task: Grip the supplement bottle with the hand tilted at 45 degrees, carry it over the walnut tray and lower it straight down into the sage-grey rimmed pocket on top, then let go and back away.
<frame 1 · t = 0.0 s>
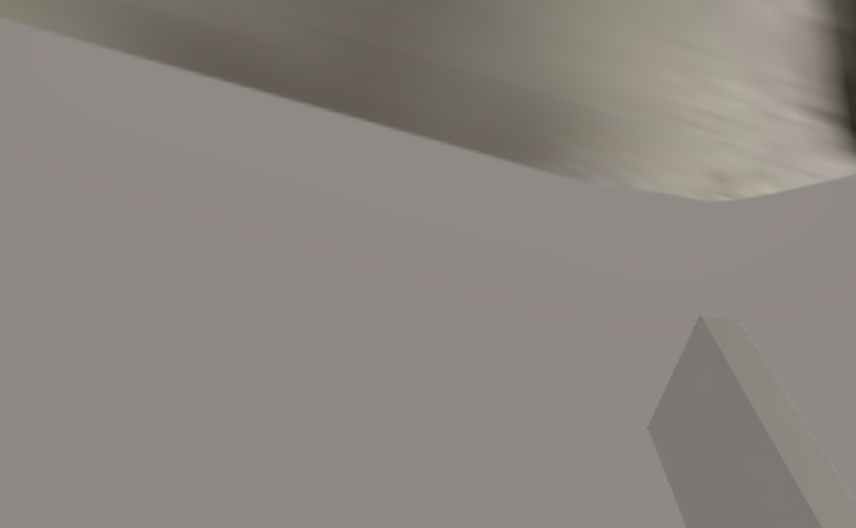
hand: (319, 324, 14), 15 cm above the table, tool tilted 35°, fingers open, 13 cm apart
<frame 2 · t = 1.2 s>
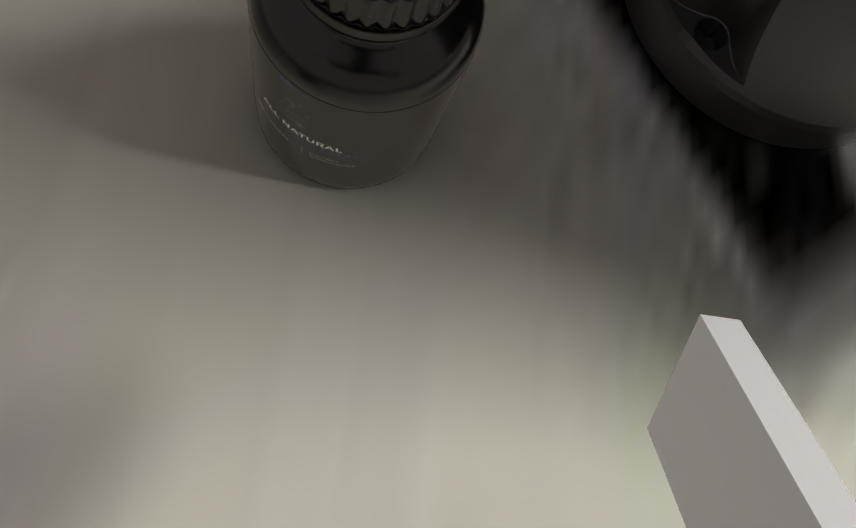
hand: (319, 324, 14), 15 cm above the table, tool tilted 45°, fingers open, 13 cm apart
supplement bottle: (347, 111, 31), on the table
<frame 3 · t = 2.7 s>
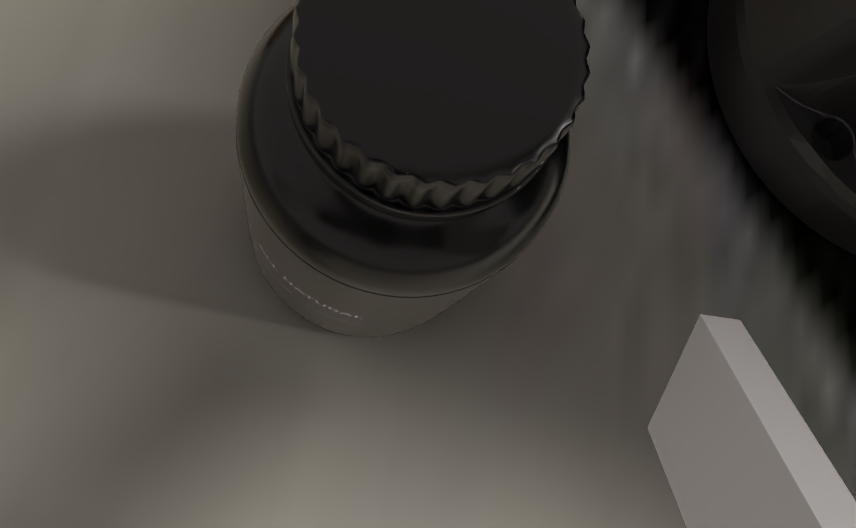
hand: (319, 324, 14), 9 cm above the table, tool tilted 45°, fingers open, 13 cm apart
supplement bottle: (367, 230, 24), on the table
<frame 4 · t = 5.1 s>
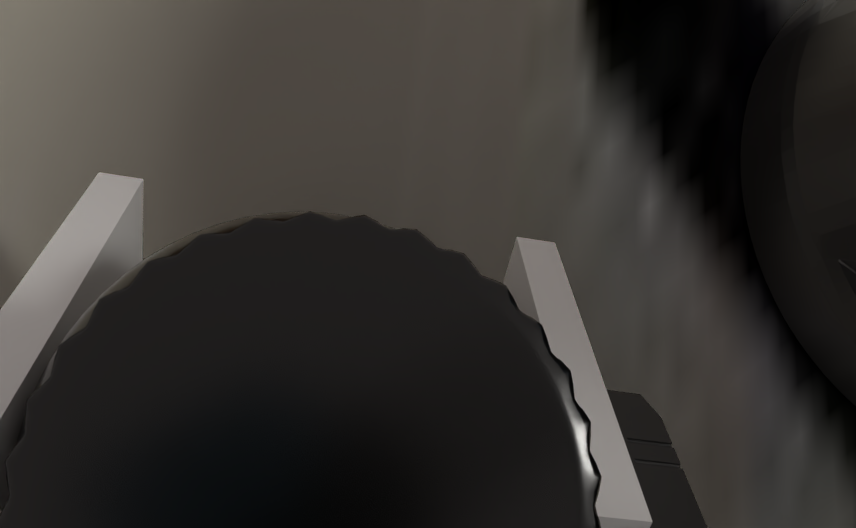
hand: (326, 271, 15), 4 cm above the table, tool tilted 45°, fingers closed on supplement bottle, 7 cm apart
supplement bottle: (296, 458, 18), on the table, touching gripper
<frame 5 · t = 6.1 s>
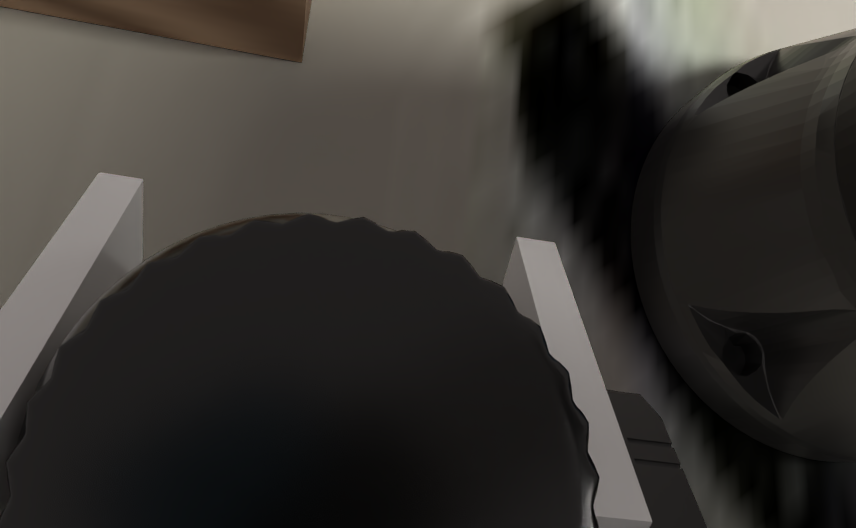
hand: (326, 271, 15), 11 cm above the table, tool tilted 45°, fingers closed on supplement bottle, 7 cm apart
supplement bottle: (296, 458, 18), point 7 cm above the table, touching gripper
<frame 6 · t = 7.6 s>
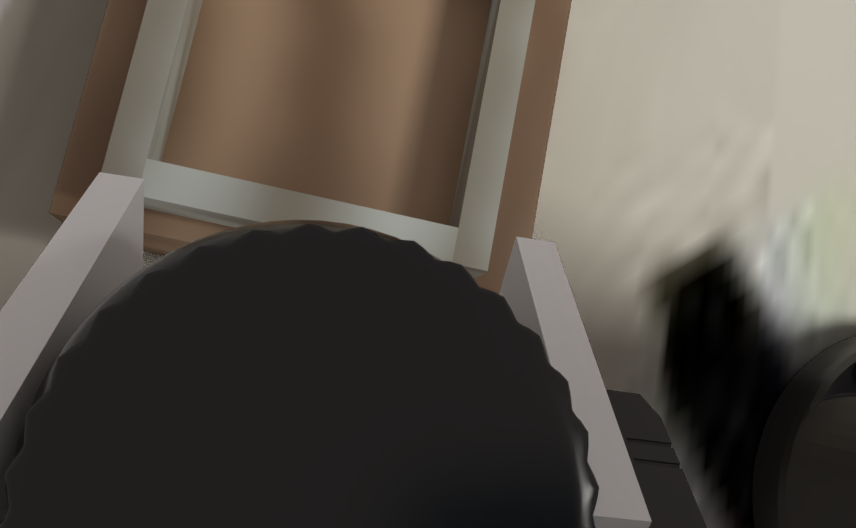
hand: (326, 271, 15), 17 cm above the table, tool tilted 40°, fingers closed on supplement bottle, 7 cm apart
supplement bottle: (296, 463, 18), point 13 cm above the table, touching gripper
walnut tray: (329, 118, 33), on the table
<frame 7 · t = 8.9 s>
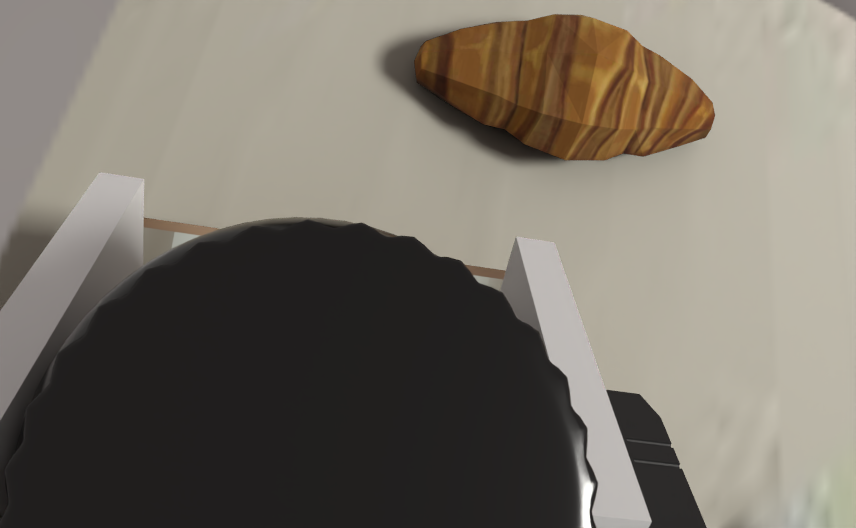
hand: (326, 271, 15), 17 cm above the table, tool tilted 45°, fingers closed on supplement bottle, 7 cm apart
croissant: (555, 108, 36), on the table
supplement bottle: (295, 462, 18), point 13 cm above the table, touching gripper
walnut tray: (304, 451, 30), on the table
when the fingers open (10 cm above the table, at t = 10.6 s): supplement bottle drops 1 cm, resting on walnut tray.
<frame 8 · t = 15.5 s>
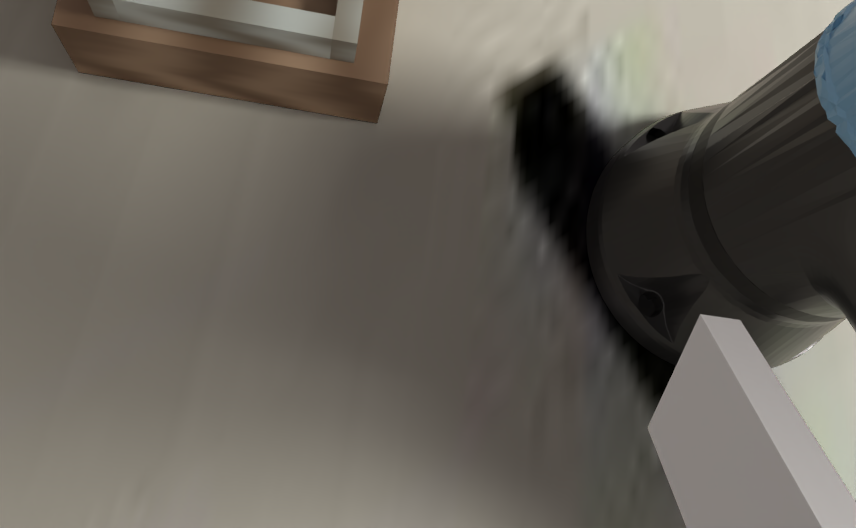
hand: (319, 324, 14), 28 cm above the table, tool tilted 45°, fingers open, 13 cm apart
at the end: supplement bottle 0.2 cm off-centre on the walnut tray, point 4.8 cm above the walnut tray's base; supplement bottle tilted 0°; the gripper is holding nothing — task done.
